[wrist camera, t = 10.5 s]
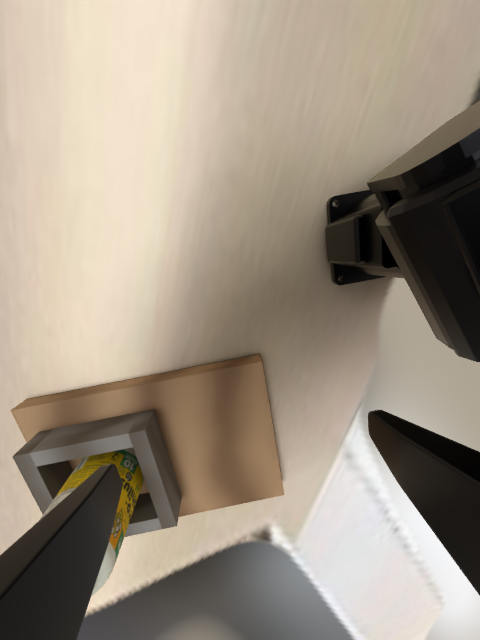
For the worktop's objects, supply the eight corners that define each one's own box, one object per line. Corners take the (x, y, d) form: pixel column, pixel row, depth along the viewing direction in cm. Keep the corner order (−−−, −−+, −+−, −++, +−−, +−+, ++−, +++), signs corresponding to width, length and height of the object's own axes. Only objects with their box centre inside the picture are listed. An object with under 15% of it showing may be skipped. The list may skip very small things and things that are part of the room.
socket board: (259, 354, 20) (267, 376, 17) (280, 480, 24) (291, 522, 20) (25, 399, 20) (-22, 433, 16) (83, 521, 24) (56, 572, 20)
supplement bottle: (77, 442, 20) (-54, 607, 10) (142, 436, 20) (73, 591, 11) (90, 493, 21) (-14, 679, 12) (152, 487, 21) (97, 663, 12)
